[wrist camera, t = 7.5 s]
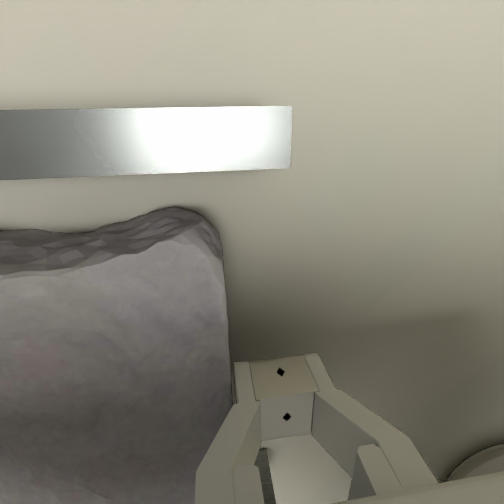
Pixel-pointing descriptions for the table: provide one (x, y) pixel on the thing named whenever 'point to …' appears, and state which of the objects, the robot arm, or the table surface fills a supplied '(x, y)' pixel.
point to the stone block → (111, 360)
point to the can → (480, 464)
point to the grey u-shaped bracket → (146, 151)
